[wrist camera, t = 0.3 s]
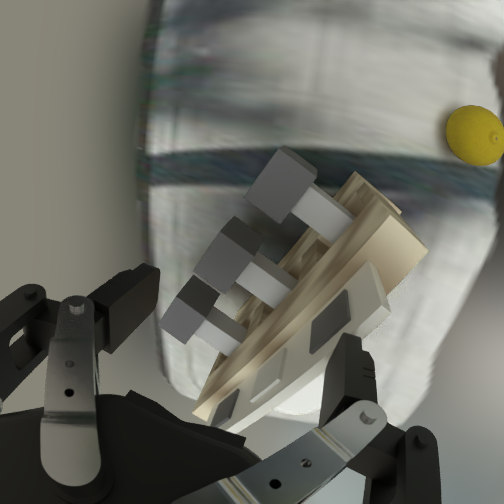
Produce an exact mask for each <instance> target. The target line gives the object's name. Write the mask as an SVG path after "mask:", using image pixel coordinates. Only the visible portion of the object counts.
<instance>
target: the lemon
mask: <svg viewBox="0 0 504 504" xmlns="http://www.w3.org/2000/svg"><path fill="white" fill-rule="evenodd" d="M446 137H447V141H448V144H449V146H450V148H451V150H452V151H453V152H454V154H455V155H456V156H457V157H458V158H460V159H461V160H463V161H464V162H466V163H468V164H471V165H476V166H485V165H489V164H492V163H494V162H496V161H497V160H498V159H499V158H500V157H501V156H502V154H503V152H504V127H503V125H502V123H501V121H500V120H499V119H498V117H497V116H496V115H494V114H493V113H492V112H491V111H489V110H487V109H485V108H483V107H480V106H474V105H469V106H463V107H461V108H459V109H457V110H455V111H454V112H453V113H452V114H451V116H450V117H449V119H448V121H447V125H446Z"/></svg>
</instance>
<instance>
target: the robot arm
mask: <svg viewBox="0 0 504 504" xmlns="http://www.w3.org/2000/svg"><path fill="white" fill-rule="evenodd" d="M159 282H160V269H159V268H156V267H154V266H151V265H148V264H146V263H142V264H141V265H139V266H138V267H137V268H135V269H134V270H130V269H129V270H126V271H123V272H120V273H118V274H117V275H115V276H114V277H113V278H112V279H110V280H108V281H107V282H106V283H104V284H103V285H101V286H100V287H99V288H98V289H96V290H95V291H93V292H92V293H91V294H89V295H88V296H87V297H85V296H79V295H74V296H70V297H67V298H65V299H64V300H63V301H62V302H59V301H54V300H50V299H47V298H46V291H45V289H44V288H43V287H42V286H40V285H37V284H27V285H24V286H21V287H20V288H18V289H17V290H15V291H14V292H13V293H11V294H10V295H8V296H7V297H5V298H4V299H3V300H1V301H0V413H1V411H2V407H3V404H2V403H3V402H4V400H5V399H6V398H7V397H8V396H9V395H10V394H11V393H12V392H13V391H14V390H15V389H16V388H17V386H18V385H19V384H20V383H21V382H22V381H23V380H24V379H25V378H26V377H27V376H28V375H29V374H30V373H31V372H32V371H33V370H34V369H35V368H36V367H37V366H38V365H39V364H40V363H41V362H42V361H43V360H44V359H45V358H46V357H47V356H48V362H47V372H46V384H45V400H44V407H41V408H36V409H30V410H25V411H20V412H14V413H8V414H2V415H0V504H303V503H304V502H305V501H307V500H308V499H309V498H310V497H311V496H313V495H314V494H315V493H316V492H318V491H319V490H320V489H321V488H323V487H324V486H325V485H326V484H327V483H329V482H330V481H331V480H332V479H333V478H335V477H336V476H337V475H338V474H339V473H341V472H342V471H343V470H344V469H345V468H346V467H348V468H350V469H352V470H354V471H356V472H358V473H360V474H362V475H364V476H366V480H365V490H364V497H363V504H441V481H440V467H439V456H438V446H437V440H436V438H435V436H434V435H433V433H432V432H431V431H430V430H428V429H427V428H425V427H422V426H413V427H410V428H409V429H408V430H407V431H406V432H405V431H403V430H401V429H399V428H397V427H395V426H393V425H391V424H389V423H388V422H387V416H386V413H385V412H384V410H383V409H382V408H381V407H380V406H379V405H378V402H377V389H376V380H375V378H376V377H375V372H374V371H375V366H374V360H373V359H372V357H371V355H370V353H369V352H367V351H363V350H362V342H361V337H359V336H355V335H352V334H349V333H345V332H344V333H343V334H342V335H341V337H340V339H339V341H338V343H337V345H336V347H335V349H334V351H333V353H332V355H331V357H330V359H329V361H328V363H327V366H326V369H325V375H324V384H323V394H322V402H321V411H320V419H319V426H318V427H315V428H314V429H312V430H311V431H309V432H308V433H306V434H305V435H303V436H302V437H300V438H299V439H297V440H295V441H294V442H292V443H291V444H289V445H288V446H286V447H284V448H283V449H281V450H279V451H278V452H276V453H275V454H273V455H271V456H269V457H268V458H266V459H264V460H263V461H262V460H261V458H259V457H258V456H257V455H256V454H255V453H254V452H252V451H251V450H250V449H248V448H247V447H245V446H244V443H245V440H246V437H243V436H240V435H237V434H234V433H231V432H228V431H225V430H223V429H220V428H217V427H212V426H206V425H200V424H195V423H188V422H185V421H182V420H180V419H179V418H177V417H176V416H174V415H173V414H172V413H170V412H169V411H168V410H166V409H165V408H164V407H162V406H161V405H160V404H158V403H157V402H155V401H153V400H151V399H149V398H147V397H144V396H142V395H140V394H138V393H136V392H134V391H132V390H130V391H129V392H128V394H127V395H126V396H121V395H112V394H101V389H100V375H99V358H98V353H99V352H100V351H101V350H104V351H106V352H108V353H110V354H112V353H113V352H114V351H115V350H116V349H117V348H118V347H119V346H120V345H121V344H122V343H123V342H124V341H125V340H126V338H127V337H128V336H129V335H130V334H131V333H132V332H133V331H134V330H135V329H136V328H137V327H138V326H139V325H140V324H141V323H142V322H143V321H144V320H145V319H146V318H147V317H148V316H149V315H150V314H151V313H152V312H153V310H154V309H155V307H156V304H157V301H158V292H159ZM22 328H23V332H24V334H23V335H22V336H21V337H20V338H19V339H17V340H16V341H15V342H14V343H13V344H12V345H11V346H10V347H9V343H10V340H11V338H12V337H13V336H14V335H15V334H16V333H17V332H18V331H19V330H21V329H22Z"/></svg>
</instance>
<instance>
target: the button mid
mask: <svg viewBox="0 0 504 504" xmlns="http://www.w3.org/2000/svg"><path fill="white" fill-rule="evenodd" d="M263 239H264V237H263V236H261V235H260V234H259V233H257V232H256V231H255V230H253V229H252V228H251V227H249V226H248V225H246V224H245V223H244V222H242V221H241V220H240V219H238V218H237V217H235V216H233V217H232V219H231V220H230V221H229V222H228V223H227V224H226V225H225V226H224V227H223V228H222V229H221V231H220V232H219V233H218V235H217V236H216V238H215V239H214V240H213V242H212V243H211V245H210V246H209V248H208V249H207V251H206V252H205V254H204V255H203V257H202V258H201V260H200V261H199V263H198V264H197V266H196V267H195V268H194V270H193V271H194V272H195V273H196V274H198V275H199V276H200V277H202V278H203V279H205V280H206V281H207V282H209V283H210V284H211V285H213V286H214V287H216V288H217V289H218V290H220V291H221V292H223V293H224V294H226V292H227V291H228V290H229V289H230V287H231V286H232V285H233V283H234V282H237V283H238V284H239V285H241V286H242V287H244V288H245V289H246V290H248V291H249V292H251V293H252V294H253V295H255V296H256V297H258V298H259V299H261V300H262V301H263V302H265V303H266V304H268V305H269V306H271V307H272V308H273V309H275V308H276V307H277V306H278V305H279V304H280V303H281V302H282V301H283V300H284V299H285V298H286V297H287V296H288V294H289V293H290V292H291V291H292V290H293V289H294V288H295V287H296V286H297V285H298V280H297V279H295V278H294V277H293V276H291V275H290V274H289V273H287V272H286V271H285V270H283V269H282V268H280V267H279V266H278V265H276V264H275V263H274V262H272V261H271V260H269V259H268V258H267V257H265V256H264V255H263V254H261V253H260V252H259V251H258V249H259V247H260V245H261V243H262V241H263Z"/></svg>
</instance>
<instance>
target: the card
mask: <svg viewBox="0 0 504 504" xmlns="http://www.w3.org/2000/svg"><path fill="white" fill-rule="evenodd" d="M390 314H391V310H390V306H389V303H388V300H387V297H386V294H385V291H384V288H383V285H382V282H381V279H380V276H379V273H378V271H377V268H376V266H375V265H374V264H373V263H371V262H370V261H369V260H367V261H366V262H365V263H364V264H363V266H362V267H361V268H360V269H359V270H358V271H357V272H356V273H355V274H354V275H353V276H352V277H351V278H350V279H349V280H348V281H347V282H346V284H345V285H344V286H343V287H342V288H341V289H340V290H339V291H338V292H337V293H336V294H335V295H334V296H333V297H332V298H331V299H330V300H329V301H328V302H327V303H326V304H325V305H324V306H323V307H322V308H321V309H320V310H319V311H318V312H317V313H316V314H315V315H314V316H313V317H312V318H311V319H310V320H309V321H308V322H307V323H306V324H305V325H304V326H303V327H301V328H300V329H299V330H298V331H297V332H296V333H295V334H294V335H293V336H292V337H291V338H290V339H289V340H288V341H287V342H286V343H285V344H283V345H282V346H281V347H280V348H279V349H278V350H277V351H276V352H275V353H274V354H273V355H272V356H270V357H269V358H268V359H267V360H266V361H265V362H264V363H263V364H262V365H260V366H259V367H258V368H257V369H256V370H255V371H254V372H252V373H251V374H250V375H249V376H248V377H247V378H246V379H244V380H243V381H242V382H241V383H240V384H239V385H237V386H236V387H235V388H234V389H233V390H232V391H230V392H229V393H228V394H227V395H226V396H224V397H223V398H222V399H221V400H220V401H218V402H217V403H216V404H215V405H214V406H213V407H212V410H211V412H210V415H209V417H208V420H207V422H206V426H212V427H217V428H220V429H223V430H225V431H228V432H231V433H234V434H236V433H238V432H240V431H241V430H243V429H244V428H246V427H247V426H249V425H251V424H252V423H253V422H255V421H257V420H258V419H260V418H261V417H262V416H264V415H266V414H267V413H268V412H270V411H271V410H273V409H274V408H276V407H277V406H279V405H280V404H281V403H283V402H284V401H286V400H287V399H288V398H290V397H291V396H293V395H294V394H295V393H297V392H298V391H299V390H301V389H302V388H303V387H305V386H306V385H307V384H309V383H310V382H311V381H313V380H314V379H315V378H316V377H318V376H319V375H320V374H322V373H323V372H324V371H325V369H326V366H327V363H328V361H329V359H330V357H331V355H332V353H333V351H334V349H335V347H336V345H337V343H338V341H339V339H340V337H341V335H342V334H343V333H344V332H345V333H349V334H352V335H355V336H359V337H361V340H363V339H364V338H365V337H366V336H367V335H368V334H369V333H370V332H372V331H373V330H374V329H375V328H376V327H377V326H378V325H379V324H380V323H381V322H382V321H384V320H385V319H386V318H387V317H388V316H389V315H390Z"/></svg>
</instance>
